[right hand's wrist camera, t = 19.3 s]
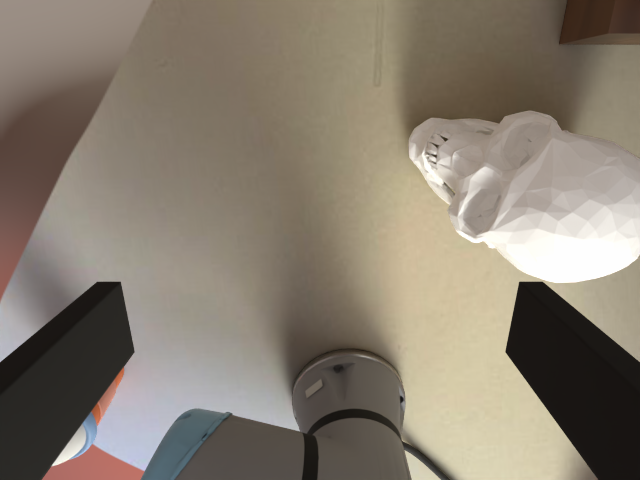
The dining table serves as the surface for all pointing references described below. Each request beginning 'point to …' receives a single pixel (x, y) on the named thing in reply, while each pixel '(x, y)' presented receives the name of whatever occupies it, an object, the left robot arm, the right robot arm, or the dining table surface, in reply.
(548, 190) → the skull
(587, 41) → the walnut block
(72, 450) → the cup with straw
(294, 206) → the dining table surface
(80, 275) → the dining table surface
